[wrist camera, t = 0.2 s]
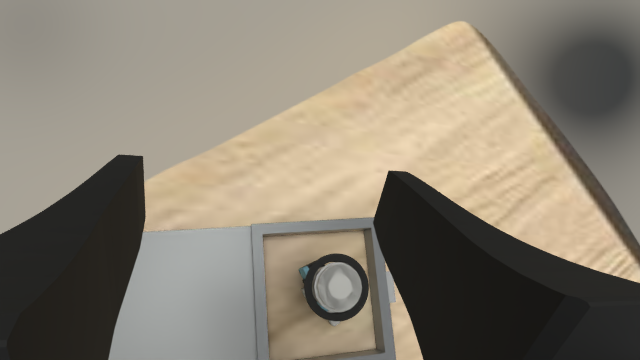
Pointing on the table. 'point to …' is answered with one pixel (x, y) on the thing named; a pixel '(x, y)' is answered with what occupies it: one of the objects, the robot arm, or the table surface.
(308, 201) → the table surface
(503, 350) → the robot arm
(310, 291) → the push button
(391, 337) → the equipment case
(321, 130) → the table surface
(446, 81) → the table surface
